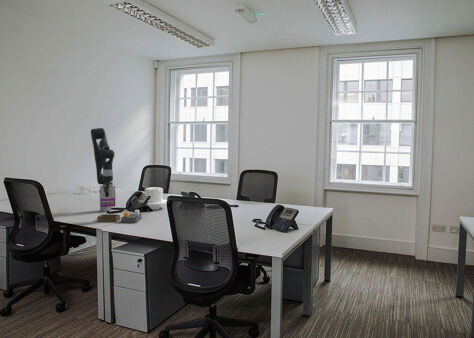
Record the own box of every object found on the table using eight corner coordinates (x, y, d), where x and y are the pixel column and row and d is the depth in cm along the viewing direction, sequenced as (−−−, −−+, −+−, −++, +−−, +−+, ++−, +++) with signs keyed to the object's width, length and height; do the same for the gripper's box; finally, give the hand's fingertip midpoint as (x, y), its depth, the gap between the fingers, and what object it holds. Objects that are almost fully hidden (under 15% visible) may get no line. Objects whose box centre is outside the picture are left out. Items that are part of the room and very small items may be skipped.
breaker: (135, 214, 296) (135, 209, 296) (139, 214, 296) (139, 209, 296) (134, 214, 293) (134, 210, 293) (138, 214, 293) (138, 210, 293)
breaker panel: (127, 218, 299) (127, 213, 299) (141, 218, 299) (141, 213, 298) (121, 222, 284) (121, 217, 284) (136, 222, 284) (136, 217, 283)
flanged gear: (139, 211, 325) (139, 190, 324) (141, 206, 350) (140, 186, 348) (167, 210, 330) (167, 190, 329) (167, 205, 355) (167, 186, 353)
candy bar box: (116, 205, 293) (115, 185, 292) (115, 206, 288) (115, 185, 287) (101, 205, 291) (101, 185, 289) (100, 206, 286) (100, 186, 285)
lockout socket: (101, 219, 295) (101, 214, 295) (120, 219, 295) (120, 214, 295) (97, 221, 286) (97, 216, 286) (116, 222, 286) (116, 217, 286)
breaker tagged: (125, 216, 289) (125, 211, 288) (128, 216, 288) (128, 211, 288) (123, 217, 286) (123, 212, 285) (127, 217, 286) (127, 212, 285)
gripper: (106, 173, 295) (106, 194, 296) (99, 175, 280) (100, 197, 282) (115, 174, 294) (116, 194, 296) (109, 176, 280) (109, 197, 282)
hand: (108, 196), depth 289 cm, fingers closed on candy bar box, 5 cm apart
